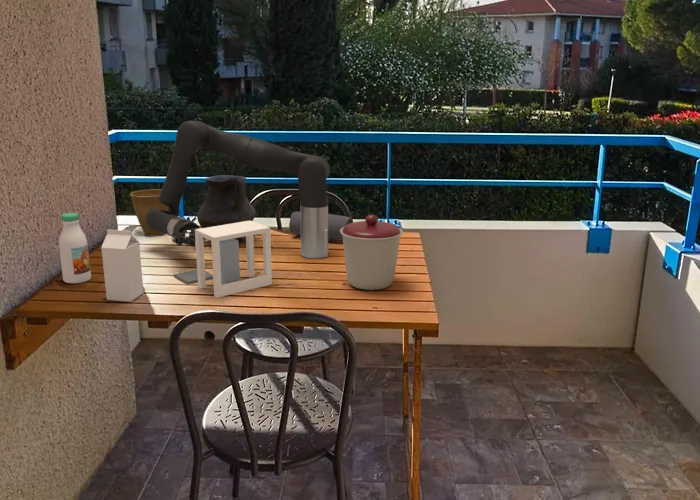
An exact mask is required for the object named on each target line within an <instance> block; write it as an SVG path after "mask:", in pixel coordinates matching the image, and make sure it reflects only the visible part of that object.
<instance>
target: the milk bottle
mask: <svg viewBox="0 0 700 500" xmlns="http://www.w3.org/2000/svg"><path fill="white" fill-rule="evenodd" d="M79 222H80V216H79V213H76V212H65V213H62V214H61V223H62V225H63V226H62V230H61V233H60V236H59V239H58V240H59V241H58V246H59V247H58V248H59V257H60V264H61V266H60V267H61V273H62V279H63V282H65V283H67V284H82V283H85V282H87V281H90V280H91V278H92V272H91V270H92V269H91V264H90V262H91V261H90V253H89V247H88V241H87V237H86V235H85V233H84V232H83V230H82V228H81V226H80V224H79Z"/></svg>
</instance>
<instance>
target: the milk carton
mask: <svg viewBox="0 0 700 500" xmlns="http://www.w3.org/2000/svg"><path fill="white" fill-rule="evenodd" d="M132 232H133V231H132V230H124V229H123V230H121V229H106V233H107V234H106V236H105V238H104V240H103V243H102V245H101V247H100V248H101V257H102V267H103V275H104V285H105V286H104V287H105V293H106V296H105V297H106V300H107V301H115V302H116V301H118V302H133V301H135V299H137V298H138V297H140V296H141V295H143V294H144V284H143V283H144V282H143V281H144V280H143V272H142V269H143V268H142V259H141V258H142V257H141V248H140V247H141V246H140V241H138V239H137V238H136V237H135V236H133V234H132Z"/></svg>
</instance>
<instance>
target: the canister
mask: <svg viewBox="0 0 700 500" xmlns="http://www.w3.org/2000/svg"><path fill="white" fill-rule="evenodd" d="M378 219H379V218H378V216H377V215H374V214H368V215H367V216H365V220H362V221H360V220H359V221H353V223H350V224H348V225H346V226H345V227H343V228H341V229H340V233H341V234H342V237H343V240H342V246H343V254H344V255H343V256H344V257H343V258H344V264H345V265H344V266H345V272H346V279H347V281H348V282H349V284H350V285H351V286H352V287H354V288H356V289H360V290H364V291H365V290H366V291H376V290H378V291H379V290H383V289H386V288H389V287H390V286H391V285H392V283H393V282H394V279H395V275H396V274H395V273H396V269H397V268H396V267H397V262H398V254H399V248H400V241H401V236H403V234H404V233H403V232H404V231H403V229H401V228H400V227H398V226H397V225H396V224H393V223H390V222H385V221H379V220H378Z"/></svg>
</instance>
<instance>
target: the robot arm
mask: <svg viewBox="0 0 700 500" xmlns="http://www.w3.org/2000/svg"><path fill="white" fill-rule="evenodd" d="M198 149H199V150H200V149H201V150H206V151H212V152H216V153H219V154H222V155H225V156H227V157H228V158H229V159H232V160H234V161H236V162H238V163H241V164H243V165H245V166H246V165H247V166H249V167H252V168H256V169H260V170H261V169H262V170H267V171H278V172H279V171H280V172H286V173H290V174H293V175H295V176H297V183H298V184H297V185H298V197H299V204H300V209H299V210H300V211H299V212H300V219H301V235H300V256H301V257H303V258H307V259H322V258H328V257H329V242H328V214H329V197H328V194H327V179H328V177H329V175H330V173H331V167H330V164H329V163H328V161H327V160H326V159H325V158H324V157H321V156H320V155H315V154H310V153H303V152H297V151H294V150H290V149H287V148H285V147H282V146H280V145H278V144H274V143H271V142H269V141H265V140H263V139H260V138H259V139H258V138H256V137H252V136H247V135H244V134H239V133H234V132H228V131H224V130H221V129H219V128H217V127H214V126H211V125H209V124H206V123H205V122H203V121H199V120H186V121H184V122H182V123H181V124H180V125H179V126H178V128H177V131H176V135H175V142H174V147H173V152H172V156H171V160H170V164H169V167H168V171H167V174H166V175H165V176H166V177H165V179H164V182H163V185H162V188H161V189H162V190H161V193H160V196H159V201H160V202H161V203H162V204H164V205H166V206H168V211H165V210H160V209H152V210H150V211H149V212H148V213H147V214H146V217H145V221H146V224H147V226H148V227H149V228H150V229H153V230H156V231H159V232H163V233H165V235H167V236H168V237H169V236H170V237H171V242H172V243H174V244H175V245H178V246H180V247H181V246H183V245H184V246H189V247H191V248H194V247H195V248H196V241H195V230H196V229H202V227H201V228H200V225H198V223H197V222H194V221H191V220H189V219H188V218H185V217H180V216H179V210H180V203H181V201H182V198H183V195H184V192H185V190H186V186H187V182H188V174H189V172H188V171H189V167H190V164H191V161H192V159H193V156H194V155H195V152H196V151H197V150H198ZM208 241H210V240H208V239H206V238H204V237H203V242H208Z"/></svg>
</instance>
